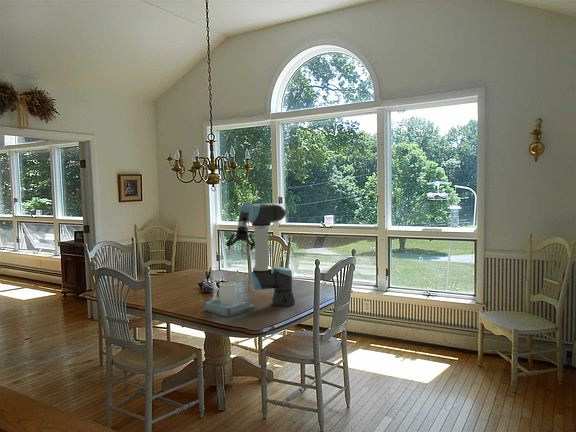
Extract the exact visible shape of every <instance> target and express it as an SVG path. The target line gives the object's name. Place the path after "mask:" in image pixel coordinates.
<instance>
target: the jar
mask: <svg viewBox="0 0 576 432" xmlns="http://www.w3.org/2000/svg"><path fill="white" fill-rule="evenodd" d="M236 285H237V282H235V281H223V282H219V283H218V286H219V289H218V296H219V298H220V302H221V304H222V306H224V307H232V306H235V305H234V304H235V301H237V287H236Z"/></svg>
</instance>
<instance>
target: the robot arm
mask: <svg viewBox="0 0 576 432" xmlns="http://www.w3.org/2000/svg"><path fill="white" fill-rule="evenodd" d="M286 215H287V210H286V207H285V206H284V205H283V204H280V203H276V202H275V203H254V204H253V203H252V202H250V201H244V202H243V203H242V205H241V208H240V211H239V215H238V223H237V230H236V234H235V233H232V234H231V236H230V238H229V239H228V240H227V242H226V243H225V244H226V247H227V250H228V254H229V256H231V254H232V248H233V245H235V244H236V243H237V242H238V241H240V242H241V241H245V242H246V243H248V245H249V248H248V254H249V256H251V253H252V251H253V249H254V262H255V263H254V267H253V268H252V271H250V273H249V279H250V285H251V286H252V288H253V289H254V290H255V291H262V290H270V289H272V290H273V295H272V298H271V305H272V306H276V307H290V306H294V305H295V304H296V298H295V296H294V293H293V274H292V273H293V272H292V269H291V268H289V267H285V266H283V267H282V266H274V267H273V269H272V267H271V266H270V263H269V262H270V261H269V260H270V259H269V258H270V257H269V254H270V253H269V228H270V227H271V223H276V222H280V221H281V220H284V218H285V217H286ZM250 224H251V226H252V227H253V229H254V230H253V231H254V238H253V236H252V233H249V226H250ZM249 238H250V239H249ZM253 247H254V248H253Z"/></svg>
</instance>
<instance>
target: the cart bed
mask: <svg viewBox="0 0 576 432" xmlns="http://www.w3.org/2000/svg"><path fill="white" fill-rule="evenodd" d="M234 305H235V306H232V307H224V306H222V304H221V302H220V297H219V298H216V299H212V300H208V301H206V302H203V310H204V311H205V312H207V313H208V312H209V313H212V314H216V315H220V316H223V317H228V318H229V317H233V316H236V315H238V314H241V313H245V312H248V311H251V309H252V308H255V304H251V301H241V300H240V301H237V300H236V301H235V304H234Z"/></svg>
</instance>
